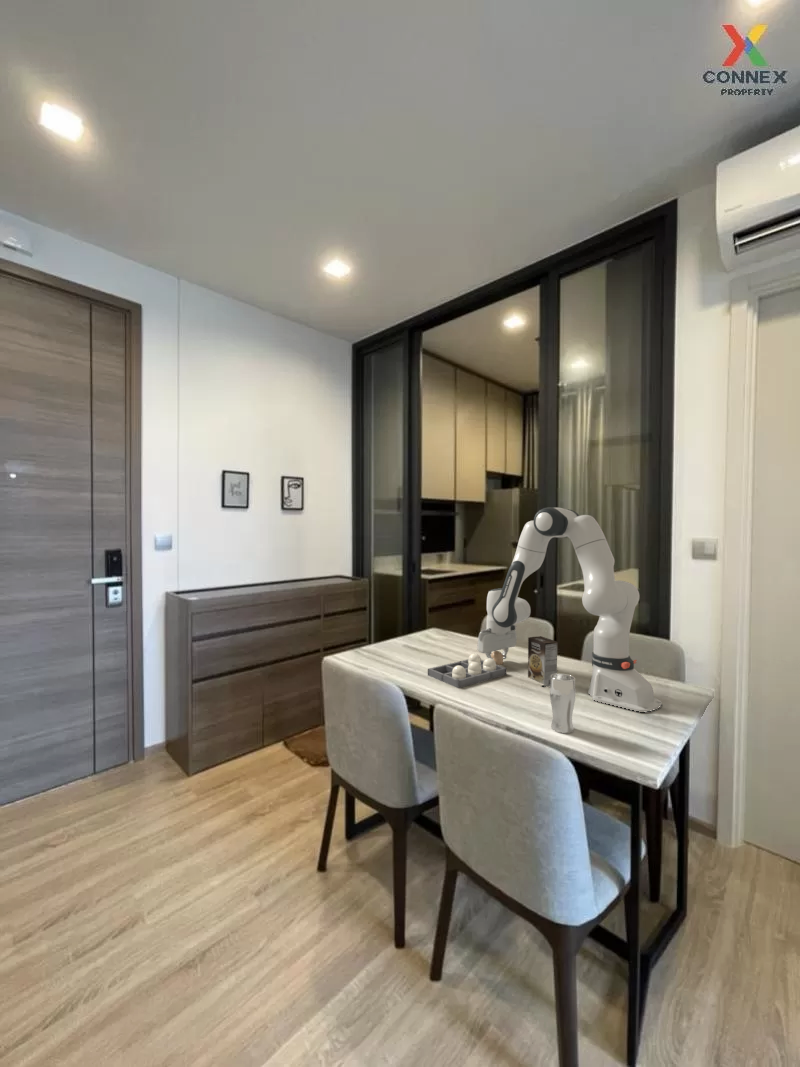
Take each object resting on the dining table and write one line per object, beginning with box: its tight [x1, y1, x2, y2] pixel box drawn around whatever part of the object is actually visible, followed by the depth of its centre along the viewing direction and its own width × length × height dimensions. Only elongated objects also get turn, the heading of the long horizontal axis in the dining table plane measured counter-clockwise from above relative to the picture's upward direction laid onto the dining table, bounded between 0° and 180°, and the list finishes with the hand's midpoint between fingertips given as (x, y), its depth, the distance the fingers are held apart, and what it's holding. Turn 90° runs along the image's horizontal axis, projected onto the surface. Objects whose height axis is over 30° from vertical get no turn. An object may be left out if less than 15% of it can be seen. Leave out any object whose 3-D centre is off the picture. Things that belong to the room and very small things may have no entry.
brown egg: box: [490, 650, 504, 666], centre depth 192 cm, size 5×5×6 cm
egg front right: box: [483, 657, 496, 671], centre depth 178 cm, size 5×5×6 cm
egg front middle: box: [468, 662, 481, 675], centre depth 173 cm, size 5×5×6 cm
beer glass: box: [549, 672, 577, 734], centre depth 132 cm, size 7×7×15 cm
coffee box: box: [527, 636, 558, 688], centre depth 171 cm, size 9×6×16 cm
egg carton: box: [427, 659, 507, 689], centre depth 176 cm, size 17×25×4 cm
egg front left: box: [452, 665, 466, 680], centre depth 168 cm, size 5×5×6 cm
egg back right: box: [468, 652, 482, 665], centre depth 184 cm, size 5×5×6 cm
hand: (497, 660), depth 192 cm, fingers open, 7 cm apart
